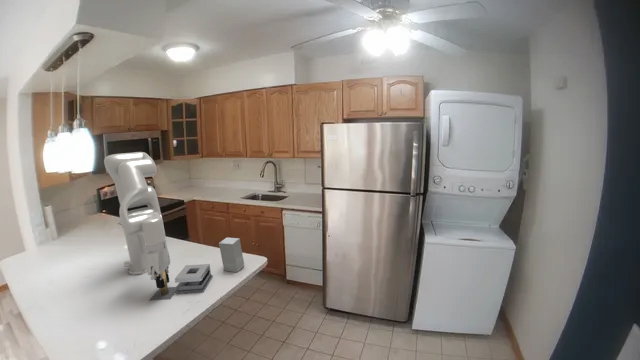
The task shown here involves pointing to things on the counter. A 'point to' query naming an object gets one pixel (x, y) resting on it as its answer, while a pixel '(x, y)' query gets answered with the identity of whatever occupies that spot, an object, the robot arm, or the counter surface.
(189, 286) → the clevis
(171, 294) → the mat
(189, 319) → the counter surface
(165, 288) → the pin
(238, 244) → the skincare box
